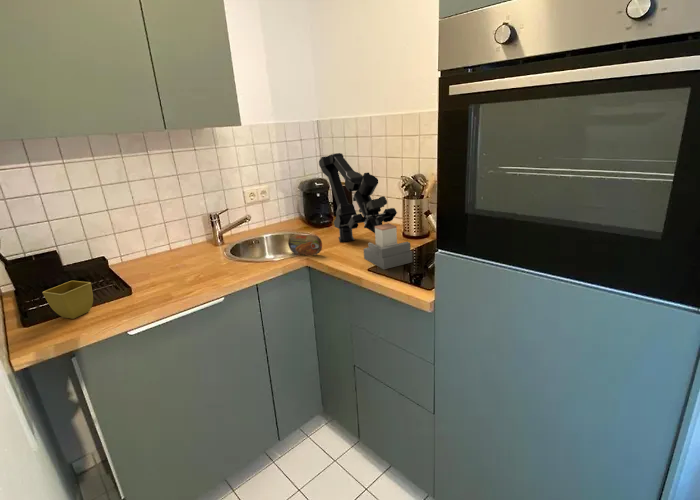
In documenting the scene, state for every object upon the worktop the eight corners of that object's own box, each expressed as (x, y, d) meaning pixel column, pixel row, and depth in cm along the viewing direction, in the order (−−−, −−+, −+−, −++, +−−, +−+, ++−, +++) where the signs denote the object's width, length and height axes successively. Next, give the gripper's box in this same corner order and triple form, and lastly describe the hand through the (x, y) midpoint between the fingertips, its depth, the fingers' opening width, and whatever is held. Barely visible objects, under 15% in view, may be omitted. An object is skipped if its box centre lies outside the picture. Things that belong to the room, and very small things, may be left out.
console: (364, 258, 142) (363, 240, 140) (390, 252, 147) (390, 235, 145) (384, 269, 130) (383, 250, 128) (412, 262, 135) (412, 243, 133)
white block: (375, 248, 138) (374, 226, 136) (389, 245, 141) (388, 223, 138) (383, 252, 134) (382, 228, 131) (397, 248, 137) (396, 226, 134)
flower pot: (50, 319, 110) (40, 291, 107) (80, 306, 117) (71, 279, 114) (71, 323, 106) (61, 294, 104) (100, 309, 114) (91, 282, 111)
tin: (289, 253, 154) (286, 233, 151) (293, 251, 157) (291, 231, 154) (320, 257, 147) (318, 236, 144) (324, 254, 150) (322, 234, 147)
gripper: (349, 193, 134) (366, 229, 128) (393, 186, 142) (411, 220, 136) (341, 211, 143) (357, 246, 137) (383, 204, 151) (399, 236, 145)
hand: (381, 236), depth 139 cm, fingers closed, pressing on white block
